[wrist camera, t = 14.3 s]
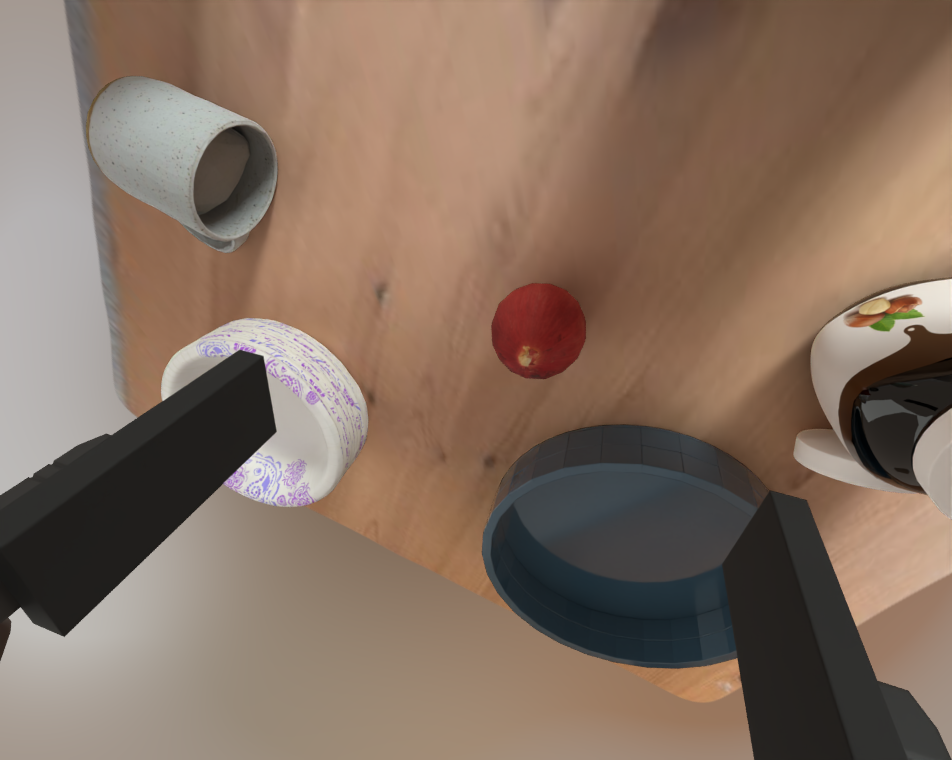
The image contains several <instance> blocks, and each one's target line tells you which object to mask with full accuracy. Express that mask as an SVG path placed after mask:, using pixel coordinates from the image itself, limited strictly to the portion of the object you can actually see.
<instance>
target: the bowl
mask: <svg viewBox="0 0 952 760" xmlns="http://www.w3.org/2000/svg"><path fill="white" fill-rule="evenodd" d="M768 493H769V490H768V489H767V488H766V487H765V486H764V484H763V483H762V482H761V481H760V479H759V478H758V477H756V476H755V475H754V474H753V473H752V472H751V471H750V470H749V469H748V468H747V467H746V466H744V465H743V464H742V463H740V462H739V461H737V460H736V459H735V458H733V457H732V456H730V455H729V454H727V453H725V452H723V451H722V450H720V449H718V448H716V447H714V446H712V445H710V444H708V443H706V442H703V441H701V440H698V439H696V438H693V437H691V436H687V435H684V434H680V433H677V432H673V431H670V430H665V429H659V428H653V427H647V426H635V425H603V426H596V427H588V428H582V429H578V430H574V431H570V432H566V433H563V434H561V435H558V436H555V437H553V438H550V439H548V440H546V441H544V442H542V443H540V444H538V445H537V446H535V447H533V448H532V449H530V450H529V451H528V452H526V453H525V454H524V455H522V456H521V457H520V458H519V459H518V460H517V461H516V462H515V463H514V464H513V465H512V466H511V467H510V469H509V470H508V472H507V473H506V474H505V476H504V477H503V479H502V481H501V483H500V486H499V488H498V491H497V493H496V495H495V498H494V501H493V504H492V507H491V510H490V513H489V516H488V519H487V522H486V525H485V529H484V532H483V543H482V556H483V560H484V564H485V568H486V572H487V575H488V577H489V578H490V580H491V582H492V584H493V586H494V587H495V589H496V591H497V593H498V594H499V595H500V597H501V598H502V599H503V600H504V601H505V602H506V603H507V605H508V606H509V607H510V608H511V609H512V610H513V611H514V612H515V613H516V614H517V615H518V616H520V617H521V618H522V619H523V620H525V621H526V622H527V623H528V624H530V625H531V626H532V627H533V628H535V629H536V630H538V631H539V632H541V633H543V634H545V635H547V636H548V637H550V638H551V639H553V640H555V641H557V642H558V643H560V644H563V645H565V646H568V647H570V648H572V649H575V650H577V651H580V652H582V653H584V654H587V655H590V656H594V657H597V658H601V659H604V660H608V661H611V662H616V663H622V664H628V665H634V666H640V667H647V668H674V669H676V668H677V669H680V668H690V667H701V666H707V665H708V666H709V665H713V664H717V663H721V662H725V661H729V660H733V659H736V658H737V652H736V646H735V640H734V634H733V628H732V622H731V616H730V610H729V604H728V597H727V591H726V585H725V579H724V573H723V567H722V564H723V562H724V560H725V559H726V557H727V556H728V554H729V553H730V551H731V550H732V548H733V547H734V545H735V543H736V542H737V540H738V539H739V537H740V536H741V534H742V533H743V531H744V530H745V528H746V526H747V525H748V523H749V522H750V520H751V519H752V517H753V516H754V514H755V513H756V511H757V510H758V508H759V506H760V505H761V503H762V502H763V500H764V499H765V497H766V496H767V494H768Z"/></svg>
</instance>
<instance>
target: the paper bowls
mask: <svg viewBox="0 0 952 760" xmlns="http://www.w3.org/2000/svg"><path fill="white" fill-rule="evenodd" d="M238 350H243V351H247V352H251V353H255V354H258V355H262V356H264V362H265V367H266V373H267V379H268V384H269V390H270V396H271V401H272V407H273V413H274V419H275V424H276V430H277V432H276V433H275V434H274V435H273V436H272V437H271V438H270V439H269V440H268V441H267V442H266V443H265V444H264V445H263V446H262V447H261V448H260V449H259V450H258V451H257V452H255V453H254V454H253V455H252V456H251V457H250V458H249V459H248V460H247V461H246V462H245V463H244V464H243V465H242V466H241V467H240V468H239V469H238V470H237V471H236V472H235V473H234V474H233V475H232V476H231V477H230V478H229V479H227V480H226V481H225V482H224V483H223V484H224V485H225V486H227V487H228V488H230V489H232V490H234V491H236V492H238V493H240V494H241V495H244V496H246V497H248V498H250V499H253V500H256V501H258V502H262V503H265V504H269V505H274V506H281V507H299V506H305V505H308V504H311V503H314V502H317V501H319V500H321V499H323V498H324V497H326V496H327V495H328V494H329V493H331V492H332V491H333V490H334V488H335V487H336V485H337V484H338V483H339V482H340V480H341V478H342V477H343V476H344V474H345V473H346V471H347V470H348V469H349V467H350V466H351V464H352V463H353V462H354V460H355V459H356V458H357V456H358V455H359V453H360V451H361V450H362V448H363V446H364V444H365V441H366V437H367V432H368V414H367V407H366V402H365V400H364V398H363V395H362V393H361V391H360V388H359V386H358V385H357V383H356V382H355V380H354V379H353V378H352V377H351V375H350V374H349V372H348V371H347V369H346V368H345V367H344V365H343V364H342V363H341V362H340V361H339V360H338V359H337V358H336V357H335V356H334V355H333V354H332V353H331V352H330V351H329V350H328V349H327V348H326V347H324V346H323V345H322V344H321V343H319V342H317V341H316V340H315V339H314V338H312V337H310V336H309V335H307V334H306V333H304V332H302V331H300V330H299V329H296V328H293V327H291V326H289V325H286V324H284V323H280V322H277V321H273V320H268V319H264V320H263V319H258V318H245V319H239V320H234V321H232V322H229V323H227V324H225V325H223V326H220V327H219V328H217V329H215V330H214V331H212V332H210V333H208V334H207V335H204V336H203V337H201V338H199V339H198V340H196V341H195V342H193V343H191V344H189V345H187V346H186V347H184V348H183V349H181V350H179V351H178V352H177V353H176V354H175V355H174V356H173V357H172V358H171V360H170V361H169V363H168V365H167V366H166V369H165V371H164V374H163V378H162V384H161V395H162V401H164V400H165V399H167V398H168V397H170V396H171V395H173V394H174V393H175V392H177V391H178V390H180V389H181V388H183V387H184V386H186V385H187V384H189V383H190V382H192V381H193V380H195V379H196V378H198V377H199V376H201V375H202V374H204V373H205V372H207V371H208V370H210V369H211V368H213V367H214V366H216V365H217V364H219V363H220V362H222V361H223V360H225V359H226V358H228V357H229V356H231V355H232V354H234V353H235V352H237V351H238Z"/></svg>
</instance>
